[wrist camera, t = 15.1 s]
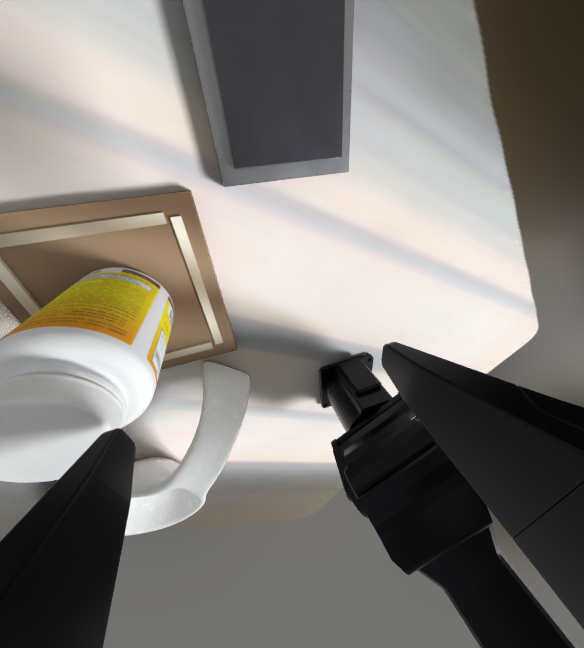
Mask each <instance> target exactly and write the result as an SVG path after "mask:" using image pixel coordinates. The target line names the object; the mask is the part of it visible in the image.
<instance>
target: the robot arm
mask: <svg viewBox="0 0 584 648" xmlns="http://www.w3.org/2000/svg"><path fill="white" fill-rule="evenodd" d="M372 365H373V356H372V355H371V354H367V355H363V356H360V357H357V358H353V359H350V360H346V361H343V362H340V363H336V364H333V365H330V366H326V367H323V368H321V369H320V371H319V374H320V397H321V405H322V407H323V408H326V407H329V406H332V407H333V409H334V411H335V412H336V414H337V416H338V418H339V420H340V422H341V423H342V425H343V427H344V429H345V431H346V433H344V434H343V435H342V436H340V437H339V438H338V439H335V440H333V441H332V442H331V444H332V447H333V453H334V456H335V460H336V463H337V466H338V469H339V473H340V476H341V479H342V483H343V486H344V489H345V492H346V495H347V498H348V499H349V500H350V501H351V502H353V503H354V505H355V506H356V507H357V509H358V510H359V511H360V513H361V514H362V515H363V516H365V517H366V518H369V519H370V521H371V523H372V524H373V526H374V528H375V530H376V531H377V533H378V535H379V537H380V539H381V541H382V543H383V545H384V546H385V548H386V550H387V552H388V554H389V556H390V558H391V559H392V561H393V562H394V563H395V564H396V565H397V566H399V567H400V568H401V569H402V570H403V571H404V572H405V573H406V574H408V575H410V574H412V573H413V572H415V571H417V570H418V571H419V572H420V573H422V574H423V575H425V576H426V577H427V578H429V579H430V580H432V581H433V582H434V583H436V584H437V585H439V586H440V587H441V588H442V589H443V590H444V591H445V593H446V594H447V595H448V597H449V598H450V600H451V601H452V603H453V605H454V606H455V608H456V609H457V611H458V612H459V614H460V615H461V617H462V618H463V620H464V622H465V623H466V625H467V626H468V628H469V630H470V631H471V633H472V634H473V636H474V637H475V639H476V640H477V642H478V644H479V645H480V647H481V648H579V647H578V645H577V644H576V643H575V642H574V640H573V639H572V638H571V637H570V636H569V634H568V633H567V632H566V631H565V629H564V628H563V627H562V626H561V624H560V623H559V622H558V621H557V619H556V618H555V617H554V616H553V614H552V613H551V612H550V611H549V609H548V608H547V607H546V606H545V605H544V603H543V602H542V601H541V600H540V598H539V597H538V596H537V595H536V594H535V592H534V591H533V590H532V588H531V587H530V586H529V585H528V583H527V582H526V581H525V580H524V578H523V577H522V576H521V575H520V574H519V572H518V571H517V570H516V569H515V567H514V566H513V565H512V564H511V562H510V561H509V560H508V559H507V557H506V556H505V555H504V554H503V553H502V551H501V550H500V549H499V547H498V544H497V541H496V538H495V535H494V531H493V528H492V524H493V523H492V519H491V516H490V513H489V511H488V508H489V509H490V510H491V512H492V513H493V514H494V516H495V517H496V518H497V519H498V521H499V522H500V523H501V524H502V526H503V527H504V528H505V530H506V531H507V532H508V533H509V535H510V536H511V537H512V538H513V540H514V541H515V543H516V544H517V545H518V546H519V548H520V549H521V550H522V551H523V553H524V554H525V555H526V557H527V558H528V559H529V560H530V562H531V563H532V564H533V566H534V567H535V568H536V569H537V570H538V572H539V573H540V574H541V576H542V577H543V578H544V579H545V581H546V582H547V583H548V584H549V586H550V587H551V588H552V590H553V591H554V592H555V594H556V595H557V596H558V597H559V599H560V600H561V601H562V602H563V604H564V605H565V606H566V607H567V609H568V610H569V611H570V613H571V614H572V615H573V616H574V618H575V619H576V620H577V621H578V623H579V624H580V625H581V627H582V628H583V629H584V407H581V406H578V405H575V404H571V403H568V402H565V401H561V400H559V399H556V398H553V397H550V396H547V395H544V394H541V393H538V392H535V391H533V390H530V389H527V388H524V387H521V386H516V385H515V384H513V383H510V382H507V381H504V380H501V379H499V378H496V377H493V376H490V375H487V374H485V373H482V372H479V371H476V370H473V369H470V368H468V367H465V366H462V365H459V364H456V363H454V362H451V361H448V360H445V359H442V358H439V357H437V356H434V355H431V354H428V353H425V352H423V351H420V350H417V349H414V348H411V347H408V346H406V345H403V344H400V343H397V342H391V343H388V344H385V345H384V346H383V352H382V366H383V368H384V369H385V371H386V372H387V374H388V376H389V377H390V379H391V380H392V382H393V383H394V385H395V387H396V388H397V390H398V391H399V392H398V394H397V395H396V396H394V397H393V398H392V397H391V395H390V394H389V393H388V392H387V391H386V389H385V388H384V387H383V386H382V385H381V382H380V381H379V380H378V379H377V378H376V377H375V375H374V374H373V373H372ZM415 416H416V417H415ZM414 417H415V418H414ZM412 418H414V419H412ZM411 419H412V420H411ZM134 461H135V444H134V442H133V441H132V440H131V438H130V437H129V436H128V435H127V434H126V433H125V432H124V431H123V430H122V429H120V428H116V429H113V430H110V431H106V432H104V433H102V434H101V435H100V436H99V437H98V438H97V439H96V440H95V442H94V443H93V444H92V445H91V446H90V447H89V448H88V449H87V450H86V451H85V452H84V453H83V454H82V455H81V456H80V457H79V459H78V460H77V461H76V462H75V463H74V464H73V465H72V466H71V467H70V468H69V469H68V470H67V471H66V472H65V473H64V474H63V476H62V477H61V478H60V479H59V480H58V481H57V482H56V483H55V484H54V485H53V486H52V487H51V488H50V489H49V490H48V491H47V493H46V494H45V495H44V496H43V497H42V498H41V499H40V500H39V501H38V502H37V503H36V504H35V505H34V506H33V507H32V508H31V510H30V511H29V512H28V513H27V514H26V515H25V516H24V517H23V518H22V519H21V520H20V521H19V522H18V523H17V524H16V525H15V527H14V528H13V529H12V530H11V531H10V532H9V533H8V534H7V535H6V536H5V537H4V538H3V539H2V540H1V541H0V648H103V644H104V638H105V634H106V628H107V623H108V617H109V613H110V607H111V602H112V597H113V592H114V587H115V581H116V577H117V571H118V566H119V561H120V555H121V550H122V545H123V540H124V535H125V530H126V525H127V520H128V514H129V509H130V503H131V495H132V483H133V472H134ZM487 507H488V508H487Z"/></svg>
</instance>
